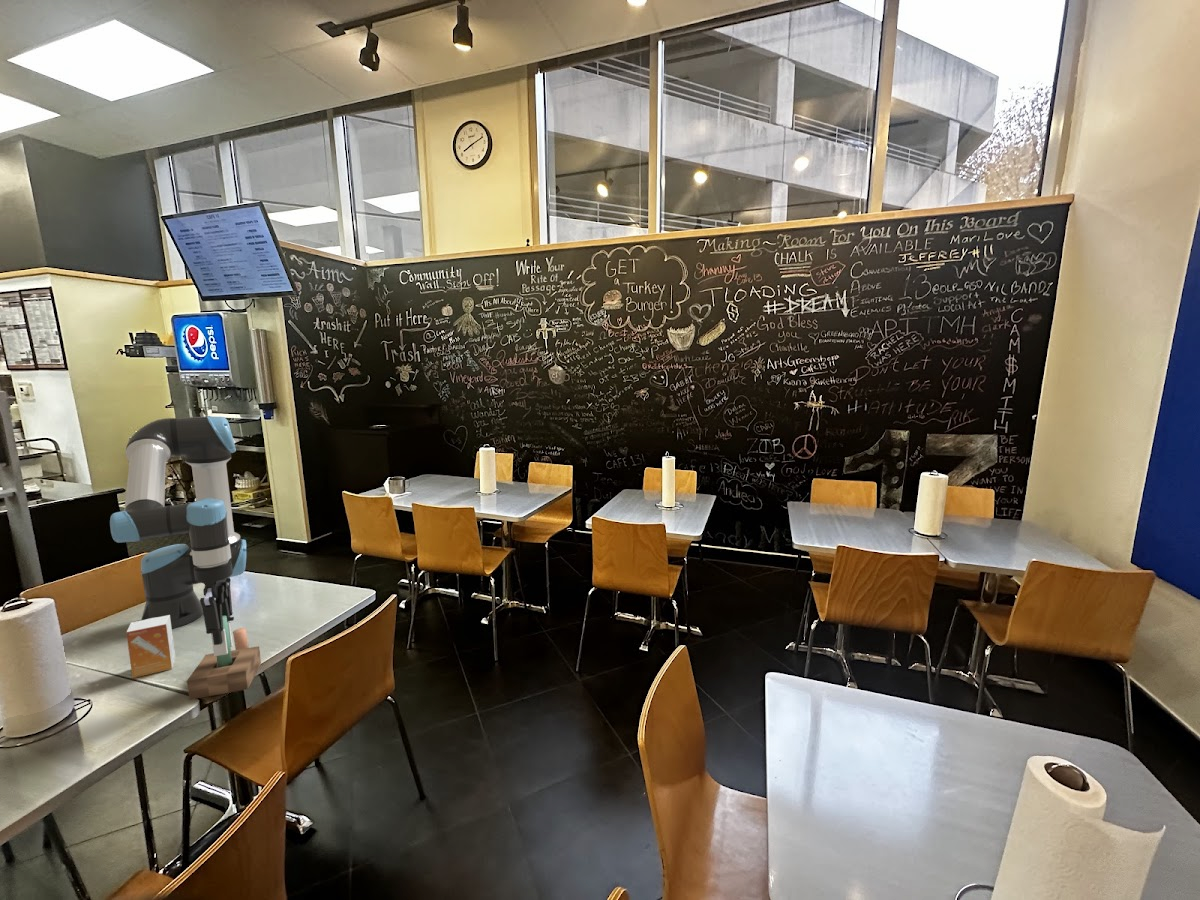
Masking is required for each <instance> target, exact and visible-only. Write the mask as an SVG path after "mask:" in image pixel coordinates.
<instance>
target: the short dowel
mask: <svg viewBox="0 0 1200 900" xmlns="http://www.w3.org/2000/svg"><path fill="white" fill-rule="evenodd" d="M232 635H233V636H232V637H233V642H234V650H239V649H245V648H250V647H249V641H248V634H247V628H245V627H241V628H238V629H236V630H234V631H232Z"/></svg>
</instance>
